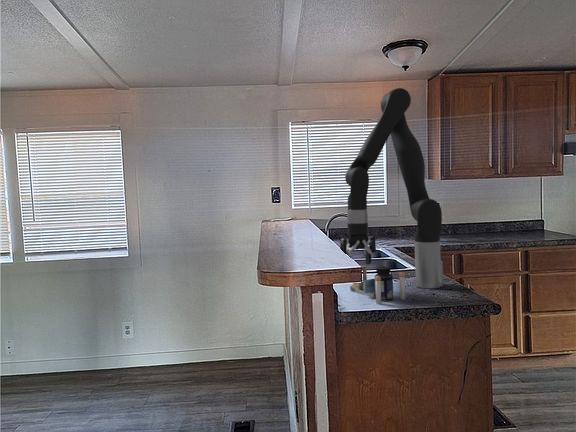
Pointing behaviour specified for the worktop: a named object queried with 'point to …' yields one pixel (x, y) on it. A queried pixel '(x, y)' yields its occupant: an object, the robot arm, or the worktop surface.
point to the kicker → (365, 283)
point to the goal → (378, 287)
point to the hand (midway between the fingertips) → (358, 265)
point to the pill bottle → (385, 283)
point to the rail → (363, 292)
